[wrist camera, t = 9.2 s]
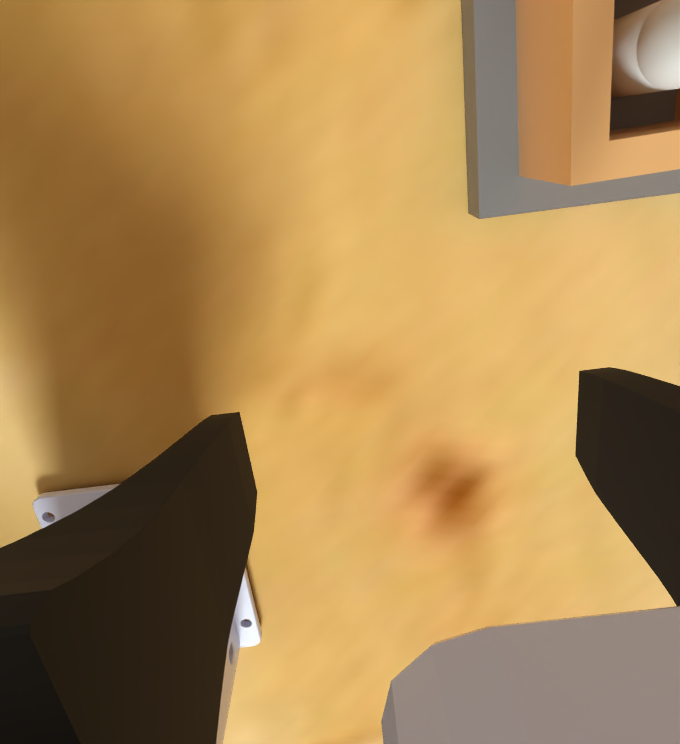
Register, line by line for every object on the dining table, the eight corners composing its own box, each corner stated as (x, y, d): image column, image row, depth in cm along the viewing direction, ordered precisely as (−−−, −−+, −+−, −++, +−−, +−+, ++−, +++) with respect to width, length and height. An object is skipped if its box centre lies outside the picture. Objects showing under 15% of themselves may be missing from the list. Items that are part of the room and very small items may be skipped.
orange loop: (701, 147, 17) (803, 149, 13) (519, 176, 17) (570, 186, 14) (722, -75, 15) (852, -145, 11) (514, -39, 15) (574, -97, 11)
